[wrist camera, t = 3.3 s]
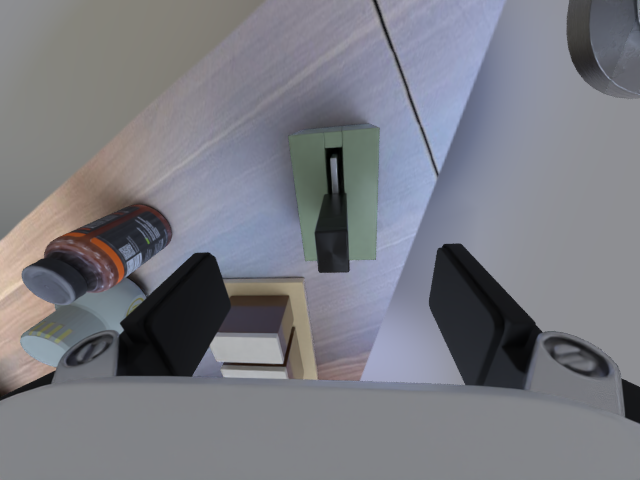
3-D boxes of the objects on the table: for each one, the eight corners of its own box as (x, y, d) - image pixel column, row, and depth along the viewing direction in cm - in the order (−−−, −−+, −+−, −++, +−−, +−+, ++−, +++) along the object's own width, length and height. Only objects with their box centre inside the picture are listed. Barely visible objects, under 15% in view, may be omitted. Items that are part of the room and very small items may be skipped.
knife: (327, 146, 21) (308, 182, 10) (345, 144, 21) (346, 180, 10) (332, 217, 25) (321, 306, 13) (347, 216, 24) (350, 306, 13)
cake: (304, 277, 30) (292, 324, 23) (318, 374, 39) (312, 427, 33) (216, 278, 31) (181, 323, 25) (249, 371, 41) (231, 422, 34)
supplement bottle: (116, 222, 29) (-5, 280, 19) (140, 192, 26) (16, 239, 16) (158, 255, 30) (68, 324, 20) (183, 230, 28) (96, 293, 18)
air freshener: (90, 251, 31) (-10, 305, 22) (151, 272, 32) (78, 333, 23) (98, 307, 36) (19, 368, 28) (151, 324, 37) (91, 389, 28)
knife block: (303, 129, 22) (287, 135, 16) (369, 123, 21) (379, 127, 15) (314, 227, 26) (305, 261, 20) (368, 225, 26) (375, 259, 20)
